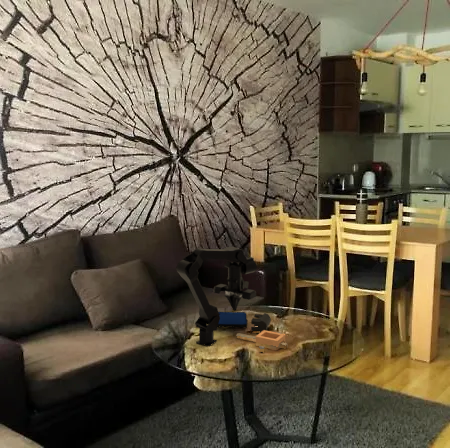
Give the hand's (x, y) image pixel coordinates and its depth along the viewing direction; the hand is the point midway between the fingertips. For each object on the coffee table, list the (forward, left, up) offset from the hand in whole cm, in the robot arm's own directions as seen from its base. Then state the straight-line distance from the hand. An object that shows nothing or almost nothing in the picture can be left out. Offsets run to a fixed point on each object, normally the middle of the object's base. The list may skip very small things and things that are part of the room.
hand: (234, 310), depth 245 cm
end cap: (+10, -8, -11) cm, 17 cm away
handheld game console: (+8, +7, -12) cm, 16 cm away
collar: (-3, -19, -11) cm, 22 cm away
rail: (-3, -15, -11) cm, 19 cm away
